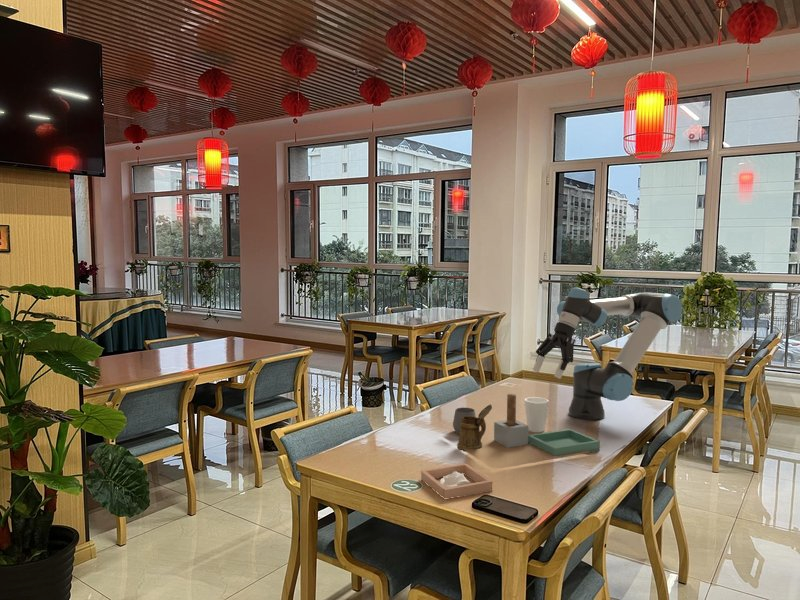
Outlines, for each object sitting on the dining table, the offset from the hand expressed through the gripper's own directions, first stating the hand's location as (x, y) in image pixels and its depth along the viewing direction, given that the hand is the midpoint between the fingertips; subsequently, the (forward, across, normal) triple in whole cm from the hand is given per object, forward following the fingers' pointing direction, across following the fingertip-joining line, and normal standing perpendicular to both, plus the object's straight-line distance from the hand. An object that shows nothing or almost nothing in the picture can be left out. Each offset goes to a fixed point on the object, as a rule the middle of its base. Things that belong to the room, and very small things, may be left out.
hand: (546, 374), depth 228 cm
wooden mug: (+37, +4, -20) cm, 43 cm away
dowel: (+29, +5, -7) cm, 31 cm away
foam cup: (+22, -4, +9) cm, 24 cm away
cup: (+35, -12, -16) cm, 40 cm away
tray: (+23, +15, +8) cm, 29 cm away
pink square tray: (+47, +30, -40) cm, 69 cm away
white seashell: (+48, +30, -40) cm, 69 cm away
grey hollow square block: (+30, +5, -7) cm, 31 cm away
